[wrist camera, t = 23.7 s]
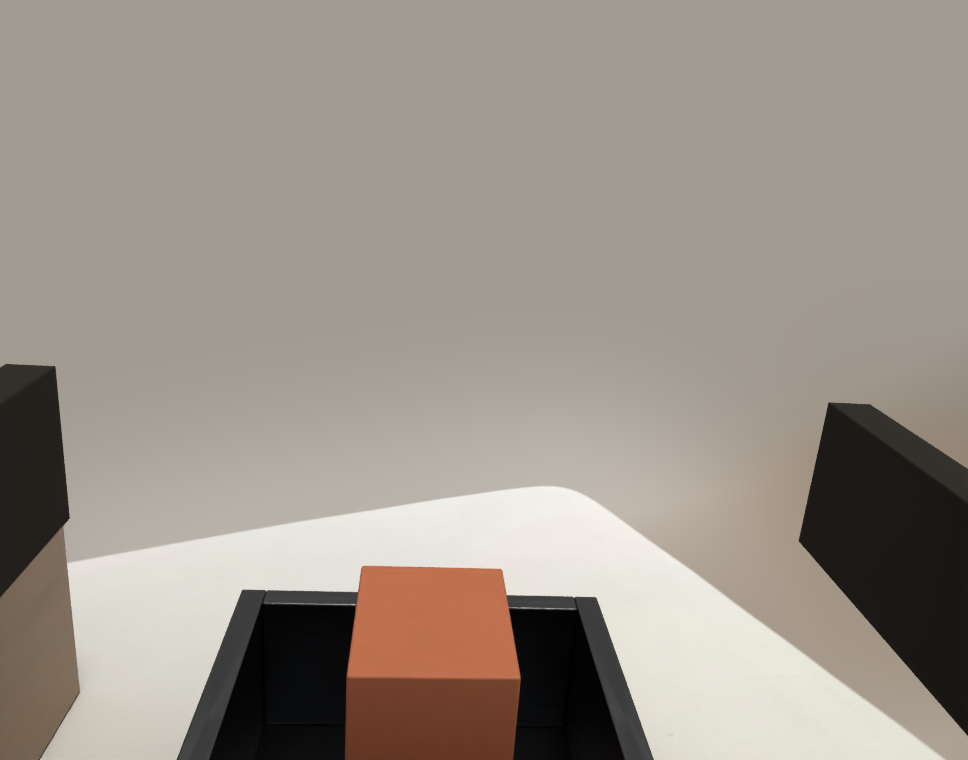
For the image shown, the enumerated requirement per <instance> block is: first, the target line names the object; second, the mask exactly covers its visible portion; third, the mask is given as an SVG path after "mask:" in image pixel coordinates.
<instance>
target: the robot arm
mask: <svg viewBox="0 0 968 760" xmlns="http://www.w3.org/2000/svg"><path fill="white" fill-rule="evenodd" d="M68 519H69V506H68V495H67V485H66V474H65V464H64V454H63V443H62V433H61V423H60V411H59V401H58V390H57V379H56V369H55V366H36V365H15V364H6V365H4V366H2V367H0V597H1V596H2V595H3V594H4V593H5V592H6V591H7V589H8V588H9V587H10V586H11V585H12V584H13V583H14V581H15V580H16V579H17V578H18V577H19V576H20V575H21V573H22V572H23V571H24V570H25V569H26V568H27V567H28V565H29V564H30V563H31V562H32V561H33V560H34V559H35V557H36V556H37V555H38V554H39V553H40V552H41V551H42V549H43V548H44V547H45V546H46V545H47V544H48V543H49V541H50V540H51V539H52V538H53V537H54V536H55V535H56V533H57V532H58V531H59V530H60V529H61V528H62V527H63V525H64V524H65V523H66V522H67V521H68ZM799 542H800V543H801V544H802V545H803V547H804V548H805V549H806V550H807V551H808V552H809V553H810V554H811V556H812V557H813V558H814V559H815V560H816V561H817V563H818V564H819V565H820V566H821V567H822V568H823V570H824V571H825V572H826V573H827V574H828V575H829V576H830V578H831V579H832V580H833V581H834V582H835V583H836V584H837V586H838V587H839V588H840V589H841V590H842V591H843V593H844V594H845V595H846V596H847V597H848V598H849V599H850V600H851V602H852V603H853V604H854V605H855V606H856V608H858V610H859V611H860V612H861V613H862V614H863V615H864V617H865V618H866V619H867V620H868V621H869V623H870V624H871V625H872V626H873V627H874V628H875V629H876V631H877V632H878V633H879V634H880V635H881V636H882V638H883V639H884V640H885V641H886V642H887V643H888V644H889V646H890V647H891V648H892V649H893V650H894V651H895V652H896V654H897V655H898V656H899V657H900V658H901V659H902V661H903V662H904V663H905V664H906V665H907V666H908V667H909V669H910V670H911V671H912V672H913V673H914V674H915V676H916V677H917V678H918V679H919V680H920V681H921V682H922V684H923V685H924V686H925V687H926V688H927V689H928V691H929V692H930V693H931V694H932V695H933V696H934V697H935V699H936V700H937V701H938V702H939V703H940V704H941V705H942V707H943V708H944V709H945V710H946V711H947V712H948V714H949V715H950V716H951V717H952V718H953V719H954V720H955V722H956V723H957V724H958V725H959V726H960V727H961V729H962V730H963V731H964V732H965V733H966V734H967V735H968V469H967V468H965V467H964V466H962V465H961V464H959V463H958V462H956V461H955V460H953V459H952V458H950V457H949V456H947V455H946V454H944V453H943V452H941V451H940V450H938V449H937V448H935V447H934V446H932V445H931V444H929V443H927V442H926V441H925V440H923V439H921V438H920V437H918V436H917V435H915V434H914V433H912V432H911V431H909V430H908V429H906V428H905V427H903V426H902V425H900V424H899V423H897V422H896V421H894V420H893V419H891V418H890V417H888V416H887V415H885V414H883V413H882V412H881V411H879V410H878V409H876V408H874V407H873V406H871V405H870V404H849V403H848V404H847V403H828V408H827V412H826V417H825V422H824V426H823V431H822V436H821V440H820V445H819V450H818V454H817V459H816V463H815V468H814V473H813V477H812V482H811V486H810V491H809V496H808V500H807V505H806V510H805V515H804V519H803V524H802V528H801V533H800V538H799Z"/></svg>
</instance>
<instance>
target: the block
mask: <svg viewBox="0 0 968 760" xmlns="http://www.w3.org/2000/svg"><path fill="white" fill-rule="evenodd" d="M520 682H521V677H520V671H519V665H518V659H517V654H516V648H515V642H514V636H513V630H512V624H511V619H510V613H509V607H508V601H507V595H506V589H505V584H504V578H503V572H502V570H501V569H479V568H435V567H391V566H362V568H361V575H360V582H359V590H358V597H357V604H356V611H355V619H354V626H353V633H352V640H351V648H350V655H349V662H348V669H347V677H346V729H345V760H513V754H514V743H515V733H516V723H517V712H518V702H519V692H520Z"/></svg>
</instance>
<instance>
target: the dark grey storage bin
mask: <svg viewBox="0 0 968 760" xmlns="http://www.w3.org/2000/svg"><path fill="white" fill-rule="evenodd" d="M357 597H358V592H322V591H274V590H268V591H266V590H242V592H241V594H240V597H239V599H238V602H237V605H236V607H235V610H234V612H233V615H232V618H231V620H230V623H229V625H228V628H227V631H226V633H225V636H224V638H223V641H222V644H221V646H220V649H219V651H218V654H217V657H216V659H215V662H214V664H213V667H212V670H211V672H210V675H209V677H208V680H207V683H206V685H205V688H204V690H203V693H202V696H201V698H200V701H199V703H198V706H197V708H196V711H195V714H194V716H193V719H192V721H191V724H190V727H189V729H188V732H187V734H186V737H185V740H184V742H183V745H182V747H181V750H180V753H179V755H178V758H177V760H345V729H346V677H347V669H348V662H349V655H350V648H351V640H352V633H353V626H354V619H355V611H356V604H357ZM507 601H508V607H509V613H510V619H511V624H512V630H513V636H514V642H515V648H516V654H517V659H518V665H519V671H520V677H521V682H520V692H519V702H518V712H517V723H516V733H515V743H514V754H513V760H654V759H653V756H652V753H651V751H650V748H649V745H648V742H647V739H646V736H645V734H644V731H643V728H642V725H641V722H640V720H639V717H638V714H637V711H636V708H635V705H634V703H633V700H632V697H631V694H630V691H629V688H628V686H627V683H626V680H625V677H624V674H623V671H622V669H621V666H620V663H619V660H618V657H617V654H616V652H615V649H614V646H613V643H612V640H611V638H610V635H609V632H608V629H607V626H606V623H605V621H604V618H603V615H602V612H601V609H600V606H599V604H598V601H597V598H596V597H575V598H574V597H564V596H516V595H507Z"/></svg>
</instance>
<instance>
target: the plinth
mask: <svg viewBox="0 0 968 760" xmlns="http://www.w3.org/2000/svg"><path fill="white" fill-rule="evenodd" d="M79 691H80V689H79V679H78V669H77V659H76V649H75V639H74V629H73V619H72V610H71V600H70V590H69V580H68V570H67V560H66V550H65V540H64V531H63V527H62V528H61V529H60V530H59V531H58V532H57V533H56V535H55V536H54V537H53V538H52V539H51V540H50V541H49V543H48V544H47V545H46V546H45V547H44V548H43V549H42V551H41V552H40V553H39V554H38V555H37V556H36V557H35V559H34V560H33V561H32V562H31V563H30V564H29V565H28V567H27V568H26V569H25V570H24V571H23V572H22V573H21V575H20V576H19V577H18V578H17V579H16V580H15V581H14V583H13V584H12V585H11V586H10V587H9V588H8V589H7V591H6V592H5V593H4V594H3V595H2V596H1V597H0V760H39V758H40V757H41V755H42V753H43V752H44V750H45V748H46V747H47V745H48V743H49V742H50V740H51V738H52V737H53V735H54V733H55V732H56V730H57V728H58V727H59V725H60V723H61V722H62V720H63V718H64V716H65V715H66V713H67V711H68V710H69V708H70V706H71V705H72V703H73V701H74V700H75V698H76V696H77V695H78V693H79Z"/></svg>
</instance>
